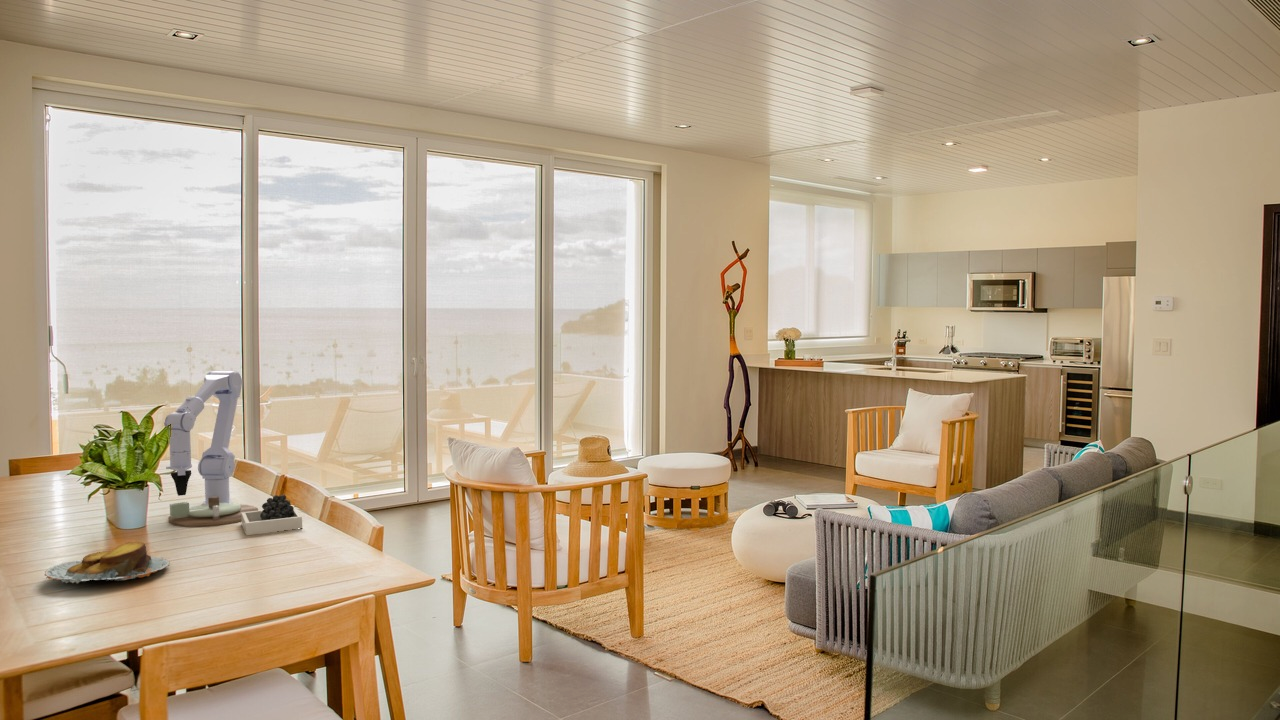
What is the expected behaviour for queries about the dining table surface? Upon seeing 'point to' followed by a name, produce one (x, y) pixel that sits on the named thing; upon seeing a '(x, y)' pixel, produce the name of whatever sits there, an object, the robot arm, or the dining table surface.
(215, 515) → the dowel
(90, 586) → the dining table surface
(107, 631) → the dining table surface
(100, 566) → the food on plate
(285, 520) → the fruit frame
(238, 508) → the flange plate
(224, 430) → the robot arm
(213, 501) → the base board
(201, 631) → the dining table surface
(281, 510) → the fruit
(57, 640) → the dining table surface
